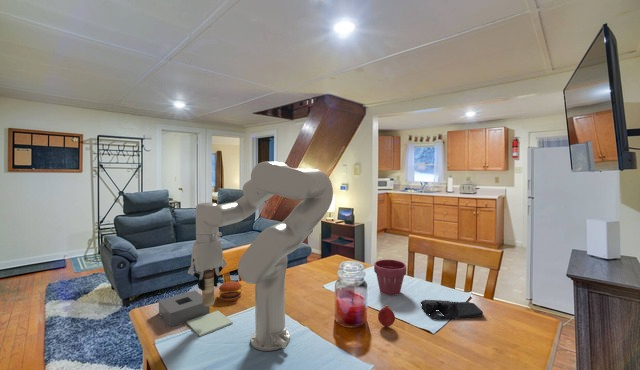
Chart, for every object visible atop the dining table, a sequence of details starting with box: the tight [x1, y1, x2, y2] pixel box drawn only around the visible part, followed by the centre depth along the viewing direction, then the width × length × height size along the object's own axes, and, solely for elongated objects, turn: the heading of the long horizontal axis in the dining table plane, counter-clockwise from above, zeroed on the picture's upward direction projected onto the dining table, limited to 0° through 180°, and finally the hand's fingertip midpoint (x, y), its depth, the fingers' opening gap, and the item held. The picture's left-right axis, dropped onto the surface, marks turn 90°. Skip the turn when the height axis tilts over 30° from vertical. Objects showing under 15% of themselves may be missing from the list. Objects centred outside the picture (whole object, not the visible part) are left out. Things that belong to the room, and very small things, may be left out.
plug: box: [201, 269, 215, 307], centre depth 106 cm, size 4×4×12 cm
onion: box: [377, 304, 396, 328], centre depth 104 cm, size 6×6×8 cm
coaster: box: [185, 310, 234, 337], centre depth 107 cm, size 12×12×1 cm
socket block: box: [158, 289, 210, 328], centre depth 114 cm, size 14×14×5 cm
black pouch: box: [420, 299, 484, 320], centre depth 117 cm, size 15×22×5 cm
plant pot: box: [373, 259, 407, 296], centre depth 134 cm, size 14×14×13 cm
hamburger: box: [218, 280, 243, 303], centre depth 129 cm, size 9×10×7 cm
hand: (208, 287), depth 106 cm, fingers closed on plug, 4 cm apart
